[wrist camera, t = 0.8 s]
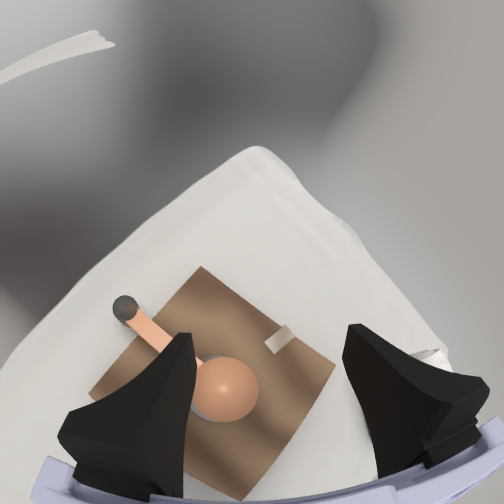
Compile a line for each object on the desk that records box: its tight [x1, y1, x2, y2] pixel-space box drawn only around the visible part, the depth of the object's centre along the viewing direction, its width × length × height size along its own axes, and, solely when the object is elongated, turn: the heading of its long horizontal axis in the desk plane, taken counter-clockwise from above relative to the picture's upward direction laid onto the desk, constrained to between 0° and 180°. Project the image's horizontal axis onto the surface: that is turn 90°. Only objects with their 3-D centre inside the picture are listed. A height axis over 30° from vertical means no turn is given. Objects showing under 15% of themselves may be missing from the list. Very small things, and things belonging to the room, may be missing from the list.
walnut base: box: [88, 266, 336, 501], centre depth 23 cm, size 18×18×2 cm
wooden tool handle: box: [113, 295, 259, 422], centre depth 21 cm, size 14×5×4 cm, turn 55°
